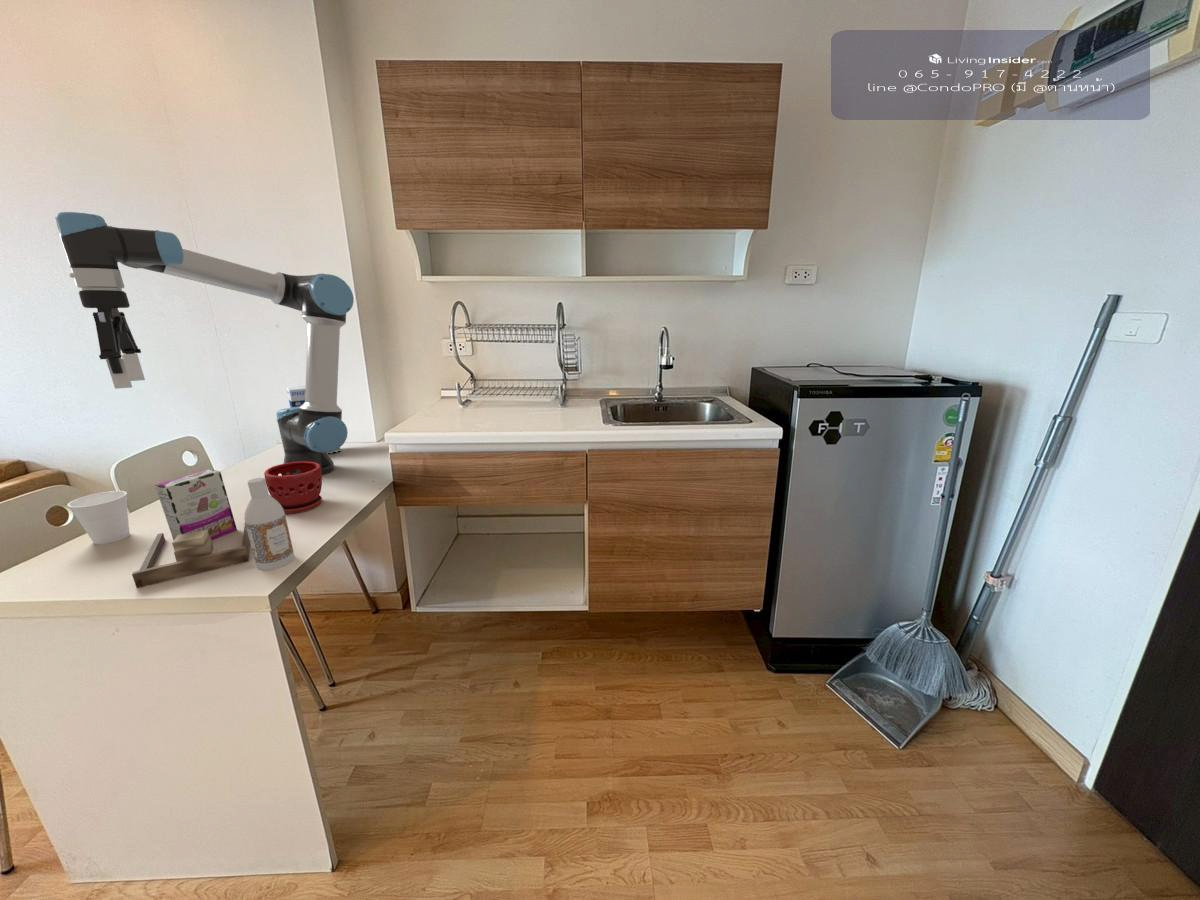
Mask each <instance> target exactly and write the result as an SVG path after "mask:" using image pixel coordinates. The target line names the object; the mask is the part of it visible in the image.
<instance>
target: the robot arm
mask: <svg viewBox="0 0 1200 900" xmlns="http://www.w3.org/2000/svg"><path fill="white" fill-rule="evenodd" d="M55 221H56V226H57V228H58V234H59V235H58V236H59V238H60V241H61V243H62V247H63V249H64V252H65V254H66V258H67V262H68V263H69V264H68V265H69V267H70V269H71V272H72V273H71V272H70V273H69V274H68V275H69V277H70V278H72V279H74V282H75V286H76V287H77V288H79V289H81V290H79V291H78V296H79V300H80V302H81V305H82V307H83V308H84V309H96V310H97V311H96V312H95V311H94V312H92V316H93V320H94V323H95V329H96V335H97V338H98V339H97V340H98V345H99V351H100V353H99V354H98V357H99V359H100V360H105V361H106V365H107V367H108V370H109V374H110V377H111V381H112V383H113V388H114V389H115V390H116V389H130V388H131V389H132V388H133V385H132V382H136V381H137V382H138V381H145V380H146V378H145V375H144V372H143V368H142V365H141V361H140V359H139V355H138V354H142V351H141V348H139V347H138V346H137V343H136V341H135V338H134V335H133V334H132V332H131V328H130V327H129V323H128V322H127V319H126V316H125V315H126V314H125V313H124V312H123V311H119V309H128V308H130V306H131V304H130V302H129V298H128V295H127V292H125V291H124V290H123V289H125V283H124V281H123V280H124V279H123V277H122V274H121V271H120V269H119V265H118V263H120V264H121V265H123V266H126V267H128V268H133V269H144V270H148V271H151V272H156V273H160V274H165V275H169V276H173V277H178V278H181V279H184V280H190V281H194V282H198V283H202V284H205V285H210V286H215V287H219V288H223V289H227V290H231V291H235V292H239V293H243V294H248V295H252V296H257V297H260V298H264V299H269V300H271V302H273V303H272V304H275V305H279V306H282V307H287V308H290V309H293V310H296V311H299V312H301V318H302V319H303V320H304V321H305V322H306V325H307V326H306V327H307V329H306V331H307V332H306V333H307V335H306V359H305V361H306V362H305V363H306V365H305V386H306V388H305V403H304V404H302V405H301V406H299V407H292V408H290V407H287V408H282V409H279V410H277V411H276V422H277V425H278V429H279V434H280V435H279V436H280V439H281V444H282V447H283V451H284V459H283V463H282V464H285V463H290V462H315V463H318V464H319V465H320V467H321V472H322V477H323V476H326V475H328V474H331V473H332V472H334V471H335V464H334V461H333V459H331V456H330V455H329V454H328V452H332V451H335V450H337V449H338V448H340V449H341V447H342V446H343V445H344V444H345V442H346V441H347V438H348V428H347V425H346V424H345V422H344V421H343V419H342V416H343V415H342V414H343V413H342V412H343V409H342V408H341V407H340V406H339V405H338V403H337V402H338V383H339V382H338V381H339V380H338V379H339V378H338V377H339V362H340V361H339V360H340V359H339V357H340V335H341V333H340V332H341V328H342V327H343V326H345V325H346V324H347V323H346V321H347V313H348V312H350V311H351V310H352V308H353V305H354V303H355V302H354V300H355V298H354V293H353V291H352V289H351V287H350V286H349V285H348V283H347V282H346V281H345V280H344V279H343V278H341V277H339V276H337V275H334V274H330V273H317V274H310V275H309V274H308V275H307V274H306V275H294V274H287V273H283V272H280V271H277V272H276V273H271V272H268V271H264V270H260V269H256V268H254V267H250V266H246V265H241V264H240V263H236V262H231V261H228V260H224V259H222V258H218V257H217V258H216V257H214V256H210V255H207V254H202V253H200V252H196V251H192V250H189V249H184V248H183V247H182V243H181V241H180V239H179V237H178V236H177V235H176V234H174V233H172V232H167V231H160V230H158V229H155V230H152V229H141V228H140V229H138V228H126V227H117V226H112V225H108V223H106V219H104V217H102V216H101V215H99V214H92V213H86V212H78V211H77V212H76V211H73V212H72V211H61V212H58V213H57V214H56V215H55ZM286 474H287V475H289V474H290V472H287V473H286ZM296 474H301V471H299V470H294V471H293V475H296Z"/></svg>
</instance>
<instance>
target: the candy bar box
mask: <svg viewBox="0 0 1200 900" xmlns="http://www.w3.org/2000/svg"><path fill="white" fill-rule="evenodd" d="M224 483H225V482H224V480H223V476H222V472H221V471H220V470H216V469H211V468H210V469H205V470H200V471H198V472H194V473H192V474H188V475H184V476H180V477H178V478H175V479H171V480H168V481H165V482H164V481H163V482H161V483H158V484H155V485H154V487H155V490H156V493H157V496H158V498H159V501H160V504H161V507H162V510H163V511H162V512H163V513H164V517H165V519H166V522H167V525H168V528H169V531H170V533H171V538H172V540H173V541H174V540H175V538H176V537H177V536H178V535H180V534H186V533H192V532H197V531H203V530H208V534H209V537H211V541H214V540H217V539H218V538H221V537H223V536H227V535H228V534H231V533H233V532H235V531H238V529H237V524H236V521H235V518H234V515H233V512H232V511H233V510H232V508H231V504H230V501H229V497H228V494H227V490H226V487H225V484H224Z"/></svg>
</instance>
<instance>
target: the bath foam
mask: <svg viewBox="0 0 1200 900" xmlns="http://www.w3.org/2000/svg"><path fill="white" fill-rule="evenodd" d="M247 485H248V486H247V487H248V489H249V493H250V494H249V495H250V500H249V502H248V503H247V506H246V508H245V511H244V525H245V524H246V528H247V532H248V536H249V540H250V549H251V550H252V555H253V559H254V563H255V566H256V569H257V570H259V571H266V572H267V571H274V570H278V569H281V568H284V567H286V566H288V565H290V564H291V563H294V561H295V559H296V558H295V553H294V548H293V543H292V539H291V535H290V530H289V526H288V521H287V518H286V514H285V512H284V510H283V508H282V506H281V505H280V503H279V502H278V501H276V500H275V499H274V498H273V497H271V495H270V493H269V491H268V488H267V485H266V481H265V477H256V478H255V477H254V478H251V479H248V480H247Z"/></svg>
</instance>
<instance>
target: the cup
mask: <svg viewBox="0 0 1200 900" xmlns="http://www.w3.org/2000/svg"><path fill="white" fill-rule="evenodd" d="M127 495H128V492H127V491H125V490H124V491H123V490H112V491H111V490H109V491H104V492H103V491H102V492H96V493H92V494H87V495H85V496H82V497H78V498H76V499H73V500H71V501H70V502H68V503H67V505H66V506H67V508H69V509H70V511H71V512H72V513H73V515H74V517H76V519H77V521H78V522H79V524H80V525H81V526H82V528H83V529H84V531H85V532H86V534H87V535H88V537H89V538H90V539H91V540H90V541H91V542H92V543H93V544H94V545H106V544H111V543H115V542H118V541H121V540H124V539H126V538H128V537H129V536H130V535H131V533H130V526H129V525H130V524H129V515H128V514H129V513H128V500H127Z"/></svg>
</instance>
